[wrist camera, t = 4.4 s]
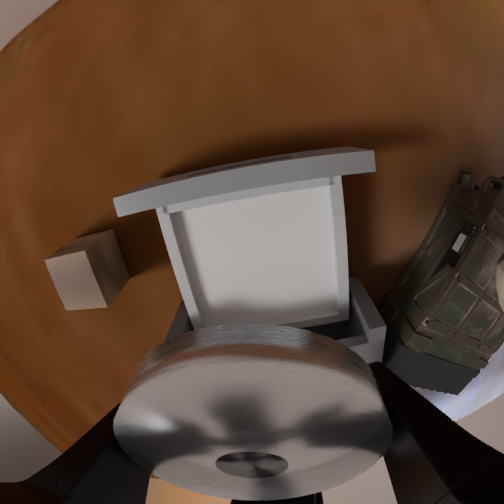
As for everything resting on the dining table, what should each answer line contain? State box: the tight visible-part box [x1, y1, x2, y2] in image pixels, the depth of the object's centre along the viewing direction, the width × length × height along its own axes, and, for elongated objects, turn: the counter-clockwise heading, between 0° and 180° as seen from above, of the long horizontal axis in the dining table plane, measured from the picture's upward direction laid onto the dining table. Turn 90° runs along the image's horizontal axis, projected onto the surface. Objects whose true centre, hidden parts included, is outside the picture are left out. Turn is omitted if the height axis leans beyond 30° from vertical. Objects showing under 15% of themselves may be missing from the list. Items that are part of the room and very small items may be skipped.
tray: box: [113, 146, 376, 330], centre depth 16 cm, size 11×13×4 cm
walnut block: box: [45, 229, 130, 310], centre depth 18 cm, size 4×4×4 cm
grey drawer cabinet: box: [164, 276, 386, 364], centre depth 19 cm, size 11×13×6 cm
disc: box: [113, 323, 393, 501], centre depth 6 cm, size 7×7×2 cm
